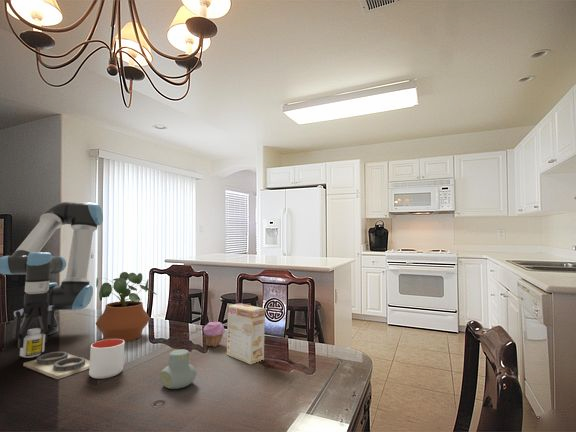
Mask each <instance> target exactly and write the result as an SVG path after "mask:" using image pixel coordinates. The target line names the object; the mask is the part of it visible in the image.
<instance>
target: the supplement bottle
mask: <svg viewBox="0 0 576 432" xmlns="http://www.w3.org/2000/svg"><path fill="white" fill-rule="evenodd" d="M40 332H41V329H40V328H34V329H29V330H28V331H27V334H28V335H27V336H26V337H25V338H27V345H26V356H25V357H23V358H24V359H25V358H26V359H27V358H29V359H30V358H35V357H36V358H37V357H39V356H41V355H42V352H41V345H42V335H41V334H40Z"/></svg>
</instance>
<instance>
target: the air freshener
mask: <svg viewBox="0 0 576 432" xmlns="http://www.w3.org/2000/svg"><path fill="white" fill-rule="evenodd" d="M189 359H190V352H189V350H187V349H184V348H182V349H174V350H172V351H171V352H170V353H169V356H168V365H167V366H166V367H164V368H163V369H162V370H161V372H160V375H159V379H160V382H161V384H162V385H163V386H164V387H165V388H168V389H170V390H179V389H183V388H185V387H187V386H189V385H191V384H192V383H193V382H194V381H195V380H196V377H197V370H196V369H195V367H194V365H192V364H190V361H189Z"/></svg>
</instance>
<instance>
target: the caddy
mask: <svg viewBox="0 0 576 432" xmlns="http://www.w3.org/2000/svg"><path fill="white" fill-rule="evenodd" d="M89 365H90V359H86V358H85V357H83V356H77V355H74V354H71V353H69V352H67V351H51V352H47V353H43V354H40V355H38V356H36V359H33V360H30V361H26V362H23V365H22V366H23V367H24V368H25V367H26V368H27V369H30V370H32V371H35V372H37V373H40V374H42V375H45V376H47V377H50V378H53V379H54V380H60V379H62V378H66V377H69V376H72V375H74V374H77V373H81V372H83V371H86V370H89Z"/></svg>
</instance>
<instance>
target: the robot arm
mask: <svg viewBox="0 0 576 432" xmlns="http://www.w3.org/2000/svg"><path fill="white" fill-rule="evenodd" d="M103 221H104V216H103V210H102V207H101V205H100V204H98V203H96V202H90V201H89V202H83V201H82V202H80V201H78V202H77V201H63V202H60V203H56V204H54V205H52V206H51V207H49V208H48V209H46V210H45V211H44V212H43V213H42V214H41V216H40V217H39V222H37V224H36V225H35V226H34V228H33V229H32V230H31V231H30V233H29V234H28V235H27V236H26V238H25V239H24V240H23V241H22V242H21V243H20V245H19V246H18V247H17V248H16V250H15V251H14V252H13V253H12V255H8V254H7V255H4V256H0V274H1V275H11V276H12V275H25V284H24V292H25V293H24V295H23V306H22V307H21V309H18V310H14V311H13V312H12V314H13V324H12V325H13V327H12V335H11V337H12V338H14V339H17V347H18V348H19V356H20V357H22V358H24V357H25V356H26V345H27V338H25V337H26V336H27V335H28V334H27V331H28V330H29V329H34V328H40V329H41V332H40V334H41V335H42V345H41V353H43V352H45V343H46V342H48V339H49V338H48V336H51V335H54V334H56V333H57V332H59V323H58V321H57V318H56V311H77V310H78V311H80V310H85V309H86V308H87V307H88V306H89V304H90V303H91V301H92V298H93V294H94V287H93V286H92V285H91V284H90V280H89V279H88V278H87V277H88V272H89V271H88V270H89V264H90V256H91V251H92V244H93V243H92V242H93V236H94V232H95V231H97V230H98V226H101V225H102V223H103ZM63 225H64V226H65V225H70V228H71V229H72V231H73V232H72V237H71V244H70V252H69V256H68V257H69V258H68V262H67V260H66V258H64V257H63V256H60V255H52V253H51V252H49V251H48V252H47V251H46V252H44V251H41V250H42V249H43V248H44V246H45V245H46V244H47V243H48V242H49V240H50V239H51V237H52V236H53V234H54V233H55V232H56V231H57V230H59V229H60V228H61V227H62V226H63ZM66 267H67V270H66V275H65V278H64V279H63V280H61V283H60V285H58V283H57V282H54V281H53V282H50V281H51V275H55V274H57V275H58V274H59V273H61V272H63V271H64V270H65V269H66ZM23 315H24V316H23ZM22 316H23V320H22Z"/></svg>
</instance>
